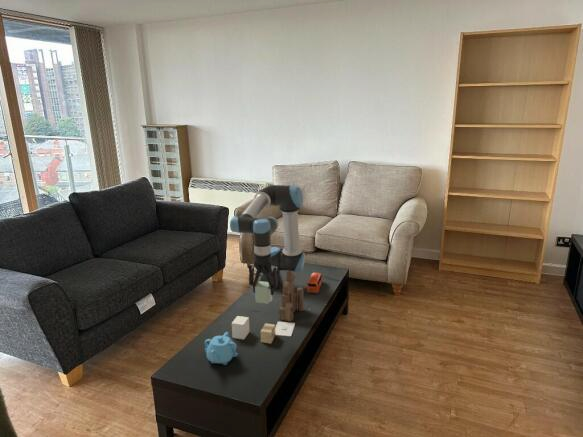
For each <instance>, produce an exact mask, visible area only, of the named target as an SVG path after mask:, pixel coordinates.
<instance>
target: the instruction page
mask: <svg viewBox="0 0 583 437" xmlns="http://www.w3.org/2000/svg"><path fill="white" fill-rule="evenodd" d="M295 325H296V323H295V322H288V321H277V323H276V324H275V334H276V336H281V337H282V336H283V337H292V334H293V332H294V330H295Z"/></svg>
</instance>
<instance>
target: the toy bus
mask: <svg viewBox="0 0 583 437" xmlns="http://www.w3.org/2000/svg"><path fill="white" fill-rule="evenodd" d="M322 284H323V275H322V273H320V272H312V273H311V275H310V276H309V278H308V281H307V282H306V293H309V294H318V293H320V288H321V286H322Z"/></svg>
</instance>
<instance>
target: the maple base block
mask: <svg viewBox="0 0 583 437" xmlns="http://www.w3.org/2000/svg"><path fill="white" fill-rule="evenodd" d="M275 328H276V324H272V323H266V322H265V323H264V325H263V326H262V328H261V330H260V343H265V344H272V342H273V341H274V339H275V337H276V336H277V335H276V334H275Z"/></svg>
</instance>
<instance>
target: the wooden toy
mask: <svg viewBox="0 0 583 437" xmlns="http://www.w3.org/2000/svg"><path fill="white" fill-rule="evenodd" d="M285 272H286V274H285V275H286V277H285V278H286V280H284V284H283V286H282V294H281V306H280V307H279V308H278V311H279V314H278V316H279V320H280V321H283V322H289V323H292V321H293V320H294V313H295V312H296V311H299V312H303V311H304V288H303V287H297V291H296V292H297V293H295V279H296V278H297V276H296V275H295V274H294V273H293V271H288V270H287V271H285Z"/></svg>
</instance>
